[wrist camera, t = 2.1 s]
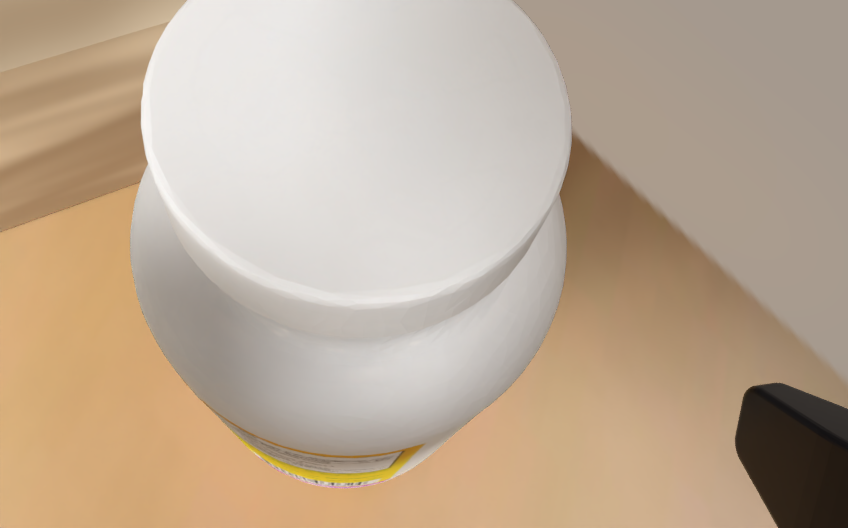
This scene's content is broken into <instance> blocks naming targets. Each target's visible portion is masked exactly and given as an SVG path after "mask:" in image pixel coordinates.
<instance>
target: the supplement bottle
mask: <svg viewBox="0 0 848 528" xmlns="http://www.w3.org/2000/svg"><path fill="white" fill-rule="evenodd" d="M141 130H142V136H143V143H144V149H145V155H146V158H147V162H148V165H147V167H146V169H145V172H144V174H143V177H142V179H141V182H140V186H139V189H138V193H137V196H136V200H135V204H134V210H133V217H132V224H131V235H130V257H131V266H132V272H133V278H134V283H135V288H136V293H137V297H138V300H139V303H140V306H141V310H142V313H143V315H144V317H145V320H146V322H147V324H148V326H149V328H150V330H151V332H152V334H153V336H154V338H155V340H156V342H157V343H158V345H159V347H160V348H161V350H162V352H163V354H164V355H165V357H166V358H167V359H168V361H169V362H170V363H171V365H172V366H173V368H174V369H175V370H176V372H177V373H178V374H179V375H180V377H181V378H182V379H183V380H184V382H185V383H186V384H187V385H188V386H189V388H190V389H191V390H192V391H193V392H194V393H195V394H196V396H197V397H198V398H199V399H200V400H201V401H203V402H204V403H205V404H206V405H207V406H208V407H209V408H210V409H211V410H212V411H213V412H214V413H215V414H216V415H217V416H218V417H219V418H220V419H221V420H222V421H223V422H224V423H225V424H226V425H227V427H228V428H229V429H230V430H231V431H232V432H233V433H234V434H235V435H236V436H237V437H238V438H239V439H240V440H241V441H242V442H243V443H244V444H245V445H246V446H247V447H248V448H249V449H250V450H251V451H252V452H253V453H254V454H255V455H257V456H258V457H259V458H260V459H262V460H263V461H264V462H266V463H267V464H268V465H270V466H272V467H273V468H275V469H276V470H278V471H280V472H282V473H284V474H286V475H288V476H290V477H293V478H295V479H297V480H300V481H303V482H306V483H309V484H313V485H317V486H323V487H330V488H356V487H364V486H369V485H374V484H378V483H381V482H385V481H387V480H390V479H392V478H395V477H397V476H399V475H401V474H403V473H405V472H407V471H409V470H410V469H412V468H414V467H415V466H417V465H418V464H419V463H421V462H422V461H424V460H425V459H426V458H428V457H429V456H430V455H431V454H432V453H434V452H435V451H436V450H437V449H438V448H439V447H440V446H441V445H443V444H444V443H445V442H446V441H447V440H448V439H449V438H450V437H452V436H453V435H454V434H455V433H456V432H457V431H458V430H460V429H461V428H462V427H463V426H464V425H466V424H467V423H468V422H469V421H470V420H471V419H473V418H474V417H475V416H476V415H478V414H479V413H480V412H481V411H483V410H484V409H485V408H487V407H488V406H489V405H490V404H492V403H493V402H494V401H495V400H496V399H497V398H498V397H500V396H501V395H502V394H503V393H504V392H505V391H506V390H507V389H508V388H509V387H510V386H511V385H512V384H513V383H514V382H515V380H516V379H517V378H518V377H519V376H520V375H521V374H522V373H523V371H524V370H525V368H526V367H527V366H528V364H529V363H530V361H531V360H532V358H533V357H534V356H535V354H536V353H537V351H538V350H539V348H540V346H541V344H542V342H543V340H544V338H545V336H546V334H547V332H548V330H549V328H550V326H551V323H552V321H553V318H554V315H555V313H556V310H557V307H558V304H559V300H560V296H561V292H562V288H563V284H564V276H565V268H566V254H567V239H566V226H565V219H564V212H563V206H562V202H561V198H560V195H559V192H560V190H561V187H562V184H563V181H564V178H565V175H566V172H567V168H568V164H569V157H570V151H571V145H572V116H571V109H570V103H569V98H568V93H567V88H566V84H565V81H564V78H563V75H562V73H561V70H560V67H559V64H558V61H557V59H556V57H555V55H554V54H553V52H552V50H551V48H550V46H549V45H548V43H547V41H546V39H545V38H544V36H543V35H542V33H541V32H540V30H539V29H538V27H537V26H536V25H535V24H534V22H533V21H532V20H531V19H530V18H529V17H528V16H527V14H526V13H525V12H524V11H523V10H522V9H521V7H520V6H519V5H517V4H516V3H515V2H514V1H513V0H187V1H186V2H185V3H184V5H183V6H182V7H181V8H180V9H179V10H178V11H177V13H176V14H175V16H174V17H173V18H172V20H171V21H170V22H169V24H168V25H167V26H166V28H165V30H164V32H163V33H162V35H161V37H160V39H159V41H158V42H157V44H156V46H155V49H154V51H153V54H152V57H151V59H150V62H149V64H148V68H147V72H146V75H145V79H144V83H143V96H142V100H141Z"/></svg>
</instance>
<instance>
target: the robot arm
mask: <svg viewBox="0 0 848 528" xmlns="http://www.w3.org/2000/svg"><path fill="white" fill-rule="evenodd" d="M735 446H736V451H737V454H738V457H739V459H740V461H741V463H742V464H743V466H744V468H745V470H746V471H747V473H748V475H749V477H750V479H751V480H752V482H753V484H754V486H755V487H756V489H757V491H758V493H759V495H760V496H761V498H762V500H763V502H764V503H765V505H766V507H767V509H768V511H769V512H770V514H771V516H772V518H773V520H774V521H775V523H776V525H777V527H778V528H848V409H847V408H844V407H842V406H839V405H837V404H834V403H832V402H829V401H826V400H824V399H821V398H819V397H816V396H814V395H811V394H808V393H806V392H803V391H801V390H798V389H796V388H793V387H791V386H788V385H785V384H782V383H771V384H764V385H757V386H752V387H750V388H749V389H748V390H747V391H746V392H745V394H744V397H743V401H742V406H741V411H740V416H739V421H738V426H737V431H736V436H735Z"/></svg>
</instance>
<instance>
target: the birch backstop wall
mask: <svg viewBox="0 0 848 528" xmlns="http://www.w3.org/2000/svg"><path fill="white" fill-rule="evenodd" d="M186 1H187V0H0V232H2V231H4V230H7V229H10V228H13V227H16V226H18V225H21V224H24V223H27V222H30V221H32V220H35V219H38V218H41V217H44V216H46V215H49V214H52V213H55V212H57V211H60V210H63V209H66V208H69V207H71V206H74V205H77V204H80V203H83V202H85V201H88V200H91V199H94V198H97V197H99V196H102V195H105V194H108V193H111V192H113V191H116V190H119V189H122V188H125V187H127V186H130V185H133V184H136V183H139V182H141V179H142V177H143V174H144V172H145V169H146V167H147V165H148V162H147V158H146V155H145V149H144V143H143V136H142V130H141V100H142V96H143V83H144V79H145V75H146V72H147V68H148V64H149V62H150V59H151V57H152V54H153V51H154V49H155V46H156V44H157V42H158V41H159V39H160V37H161V35H162V33H163V32H164V30H165V28H166V26H167V25H168V24H169V22H170V21H171V20H172V18H173V17H174V16H175V14H176V13H177V11H178V10H179V9H180V8H181V7H182V6H183V5H184V3H185V2H186Z"/></svg>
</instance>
